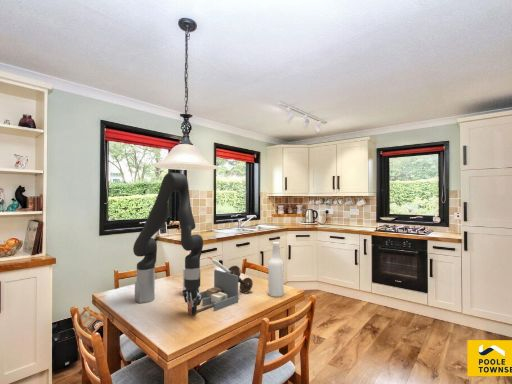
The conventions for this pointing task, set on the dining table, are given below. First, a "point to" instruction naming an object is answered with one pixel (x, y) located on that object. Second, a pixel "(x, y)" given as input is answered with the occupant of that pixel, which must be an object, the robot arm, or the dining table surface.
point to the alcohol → (276, 273)
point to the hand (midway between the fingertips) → (192, 313)
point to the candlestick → (245, 283)
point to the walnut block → (213, 291)
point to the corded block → (214, 299)
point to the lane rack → (223, 289)
